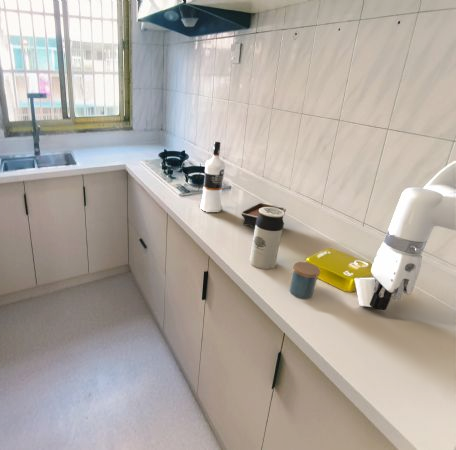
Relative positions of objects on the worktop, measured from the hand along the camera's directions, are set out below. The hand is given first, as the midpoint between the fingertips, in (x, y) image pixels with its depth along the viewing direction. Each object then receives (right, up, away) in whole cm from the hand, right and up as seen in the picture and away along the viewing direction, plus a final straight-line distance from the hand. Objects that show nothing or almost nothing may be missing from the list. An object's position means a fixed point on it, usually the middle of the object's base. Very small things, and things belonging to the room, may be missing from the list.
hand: (377, 307), depth 84 cm
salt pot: (-15, +2, +10) cm, 18 cm away
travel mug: (-21, +8, +24) cm, 33 cm away
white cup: (+1, 0, +3) cm, 4 cm away
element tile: (0, +5, +20) cm, 20 cm away
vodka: (-31, +27, +67) cm, 78 cm away
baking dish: (-13, +20, +51) cm, 56 cm away
